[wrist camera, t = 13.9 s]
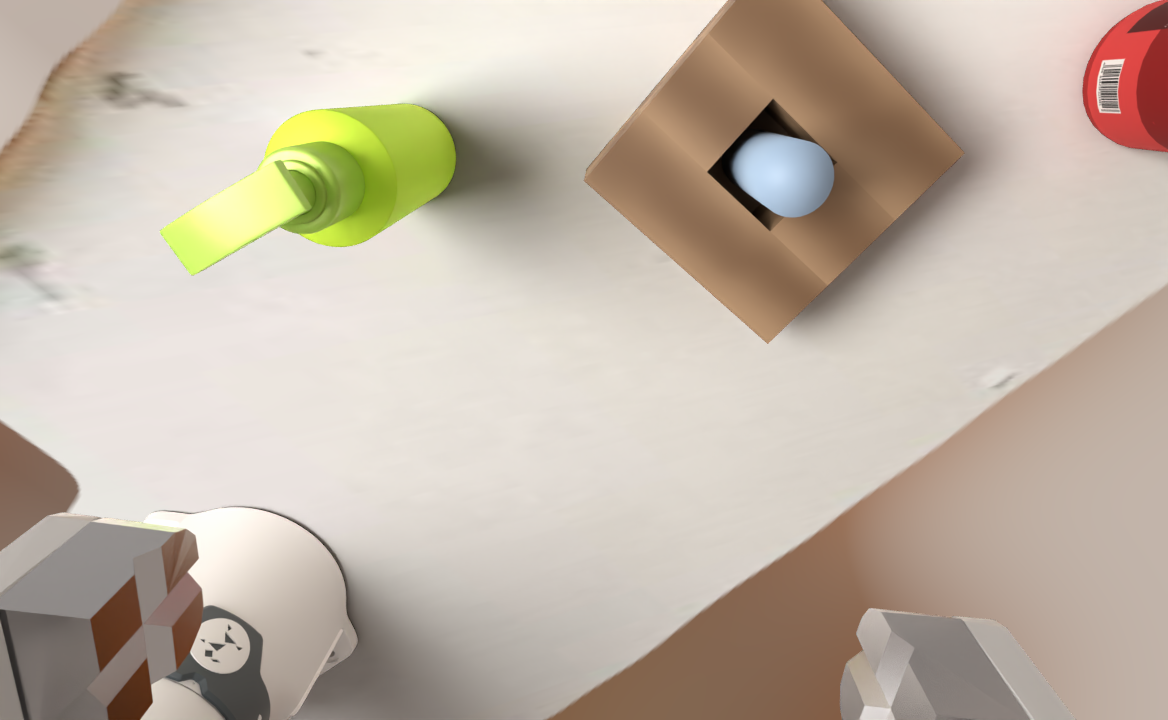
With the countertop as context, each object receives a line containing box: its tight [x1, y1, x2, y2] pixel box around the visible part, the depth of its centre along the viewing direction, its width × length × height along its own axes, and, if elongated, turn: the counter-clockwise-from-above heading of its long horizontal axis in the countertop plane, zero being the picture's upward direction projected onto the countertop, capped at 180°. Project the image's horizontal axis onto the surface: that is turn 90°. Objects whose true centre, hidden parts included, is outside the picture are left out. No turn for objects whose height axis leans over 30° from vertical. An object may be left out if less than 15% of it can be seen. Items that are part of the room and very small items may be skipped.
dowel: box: [722, 129, 834, 217], centre depth 36 cm, size 3×3×11 cm
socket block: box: [584, 0, 964, 344], centre depth 39 cm, size 14×14×6 cm
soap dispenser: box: [160, 104, 456, 275], centre depth 33 cm, size 6×7×20 cm
